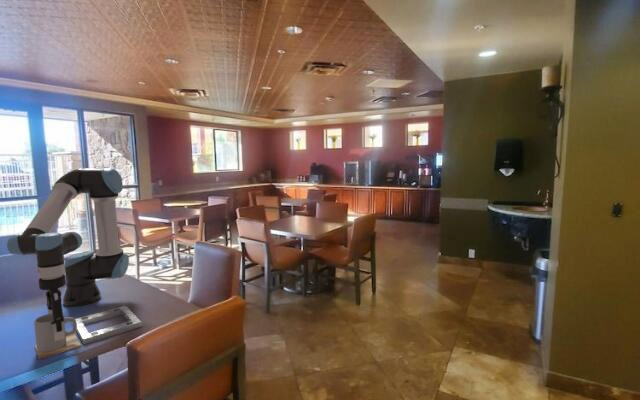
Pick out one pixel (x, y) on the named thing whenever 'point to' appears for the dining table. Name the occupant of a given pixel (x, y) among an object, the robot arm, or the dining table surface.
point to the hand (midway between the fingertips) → (56, 332)
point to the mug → (50, 333)
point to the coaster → (70, 344)
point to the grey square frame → (103, 333)
